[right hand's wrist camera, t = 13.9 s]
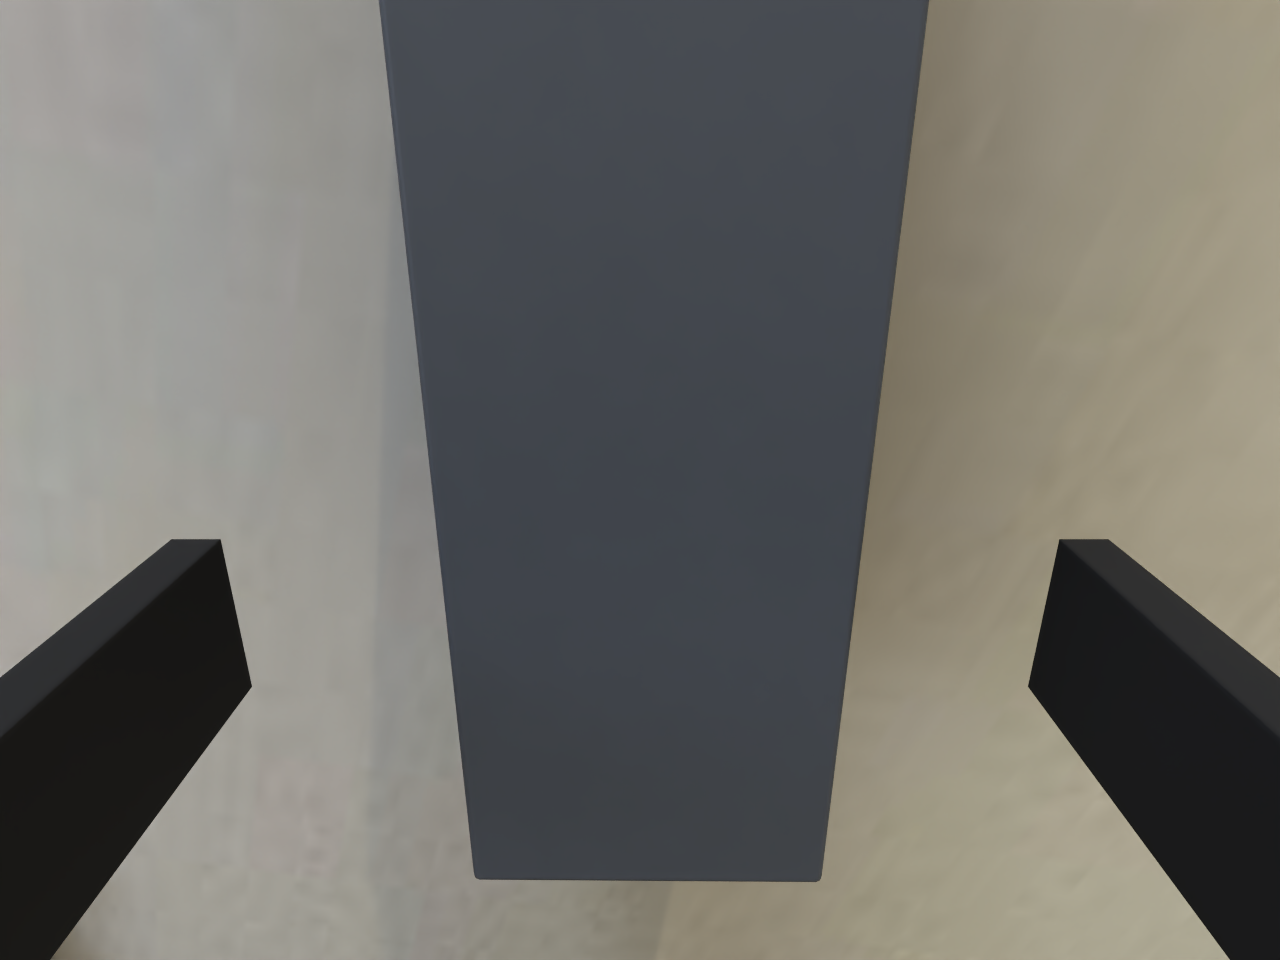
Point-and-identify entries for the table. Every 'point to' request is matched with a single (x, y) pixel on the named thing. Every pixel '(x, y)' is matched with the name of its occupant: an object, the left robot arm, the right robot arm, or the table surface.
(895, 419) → the table surface
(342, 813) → the table surface
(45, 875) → the right robot arm
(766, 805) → the bar
